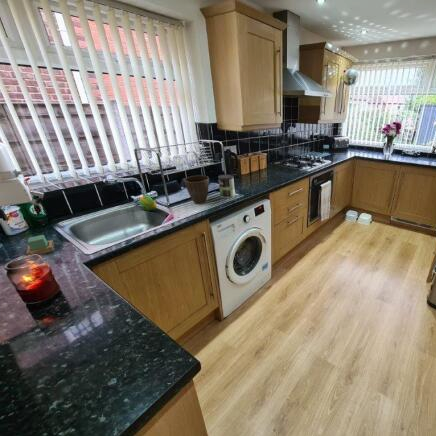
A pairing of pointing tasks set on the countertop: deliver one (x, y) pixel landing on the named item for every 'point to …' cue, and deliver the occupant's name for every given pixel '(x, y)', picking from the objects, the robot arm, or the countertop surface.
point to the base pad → (41, 251)
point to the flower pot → (197, 188)
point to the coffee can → (226, 186)
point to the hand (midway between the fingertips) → (22, 216)
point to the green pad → (38, 242)
